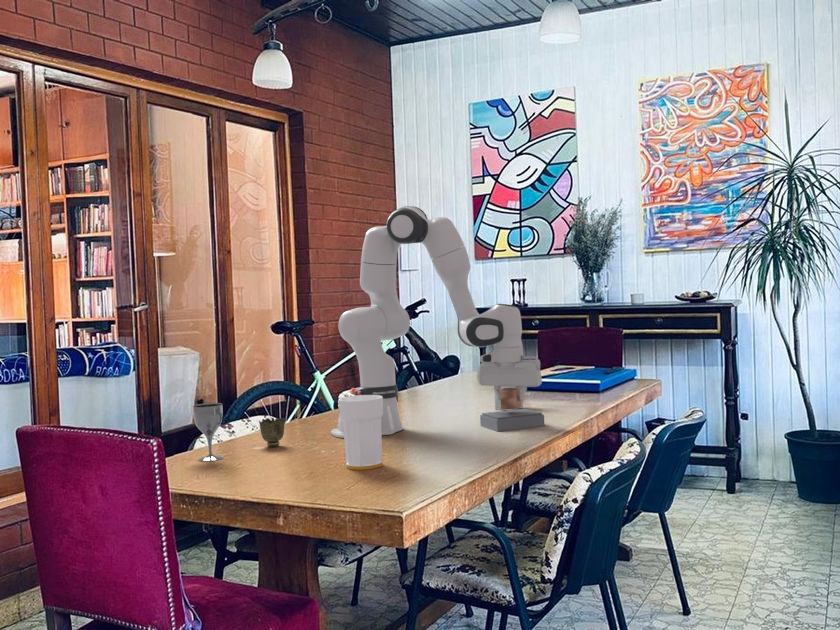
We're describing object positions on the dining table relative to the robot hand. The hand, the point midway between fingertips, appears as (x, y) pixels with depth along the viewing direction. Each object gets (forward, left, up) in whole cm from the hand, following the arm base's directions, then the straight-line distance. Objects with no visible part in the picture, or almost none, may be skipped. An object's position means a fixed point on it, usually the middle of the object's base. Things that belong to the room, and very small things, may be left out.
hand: (510, 400), depth 266 cm
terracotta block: (0, 0, -2) cm, 2 cm away
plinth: (0, 0, -8) cm, 8 cm away
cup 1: (-72, +12, -8) cm, 73 cm away
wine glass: (-91, +4, -8) cm, 91 cm away
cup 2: (-57, -30, -8) cm, 65 cm away
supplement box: (+15, +32, -8) cm, 36 cm away
